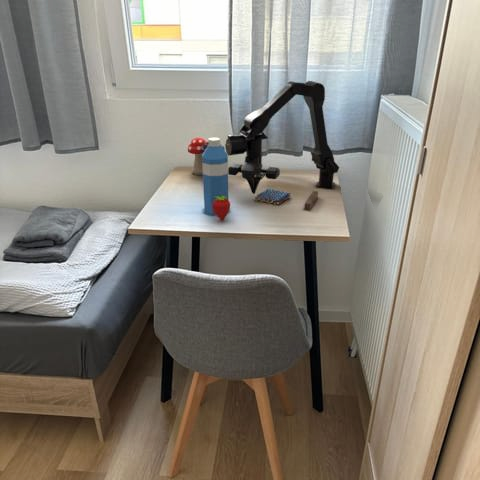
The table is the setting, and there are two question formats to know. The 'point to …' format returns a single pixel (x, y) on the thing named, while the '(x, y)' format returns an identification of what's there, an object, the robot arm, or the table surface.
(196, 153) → the decorative mushroom
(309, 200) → the bar
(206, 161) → the water bottle
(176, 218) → the table surface
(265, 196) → the woven mat
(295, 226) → the table surface
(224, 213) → the strawberry
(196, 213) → the table surface
